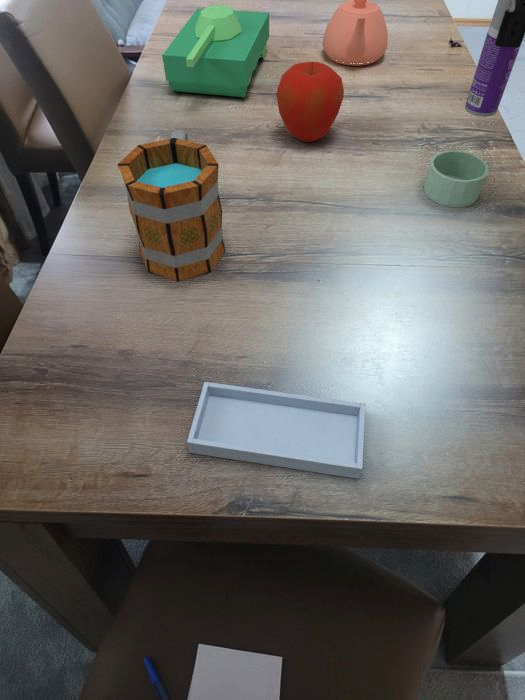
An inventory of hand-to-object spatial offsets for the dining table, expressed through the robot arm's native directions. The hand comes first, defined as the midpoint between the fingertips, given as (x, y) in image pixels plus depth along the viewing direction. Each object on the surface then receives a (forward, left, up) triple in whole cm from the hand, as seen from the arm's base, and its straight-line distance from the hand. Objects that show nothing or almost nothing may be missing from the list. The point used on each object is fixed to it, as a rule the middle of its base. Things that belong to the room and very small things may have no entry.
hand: (504, 36), depth 67 cm
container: (0, 0, -10) cm, 10 cm away
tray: (+23, +52, -25) cm, 62 cm away
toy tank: (+50, -37, -25) cm, 67 cm away
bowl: (0, -1, -25) cm, 25 cm away
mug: (+43, +19, -25) cm, 53 cm away
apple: (+27, -15, -25) cm, 40 cm away
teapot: (+20, -54, -25) cm, 62 cm away
